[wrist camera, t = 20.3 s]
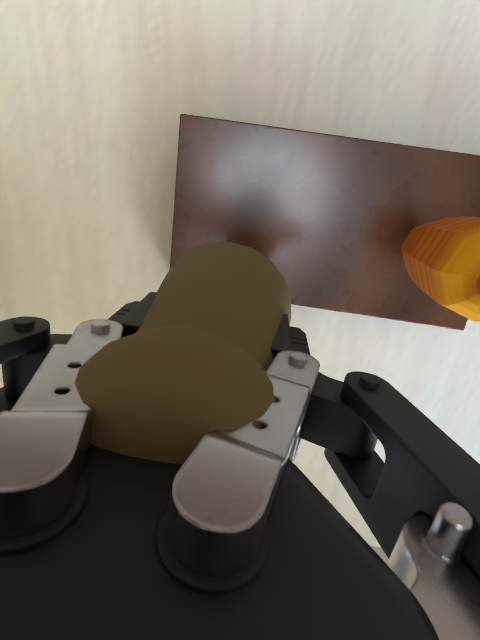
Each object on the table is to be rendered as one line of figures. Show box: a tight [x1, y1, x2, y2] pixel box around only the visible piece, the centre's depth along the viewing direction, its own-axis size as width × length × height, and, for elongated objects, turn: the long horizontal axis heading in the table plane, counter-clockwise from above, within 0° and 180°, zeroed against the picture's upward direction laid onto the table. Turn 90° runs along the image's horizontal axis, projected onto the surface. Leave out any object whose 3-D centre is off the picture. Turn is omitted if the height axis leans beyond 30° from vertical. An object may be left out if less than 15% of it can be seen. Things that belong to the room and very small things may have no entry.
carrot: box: [401, 216, 480, 322], centre depth 20 cm, size 5×5×15 cm
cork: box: [74, 242, 292, 465], centre depth 11 cm, size 6×6×11 cm
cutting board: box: [170, 114, 480, 331], centre depth 28 cm, size 24×12×2 cm, turn 82°
